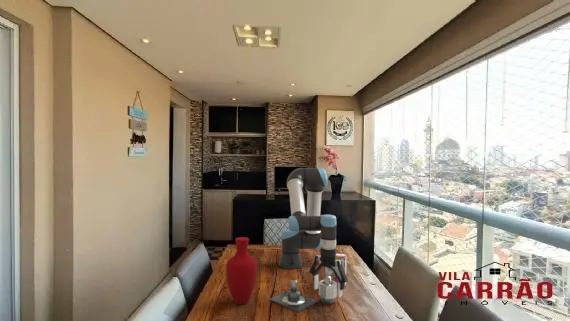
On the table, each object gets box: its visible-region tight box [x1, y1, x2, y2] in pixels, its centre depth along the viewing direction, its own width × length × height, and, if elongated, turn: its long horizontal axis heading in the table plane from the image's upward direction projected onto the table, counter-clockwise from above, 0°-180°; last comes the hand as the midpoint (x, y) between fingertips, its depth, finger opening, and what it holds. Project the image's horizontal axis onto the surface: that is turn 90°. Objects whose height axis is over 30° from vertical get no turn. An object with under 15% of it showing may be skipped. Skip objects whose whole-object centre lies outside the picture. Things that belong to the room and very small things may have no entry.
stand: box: [320, 275, 335, 305], centre depth 154 cm, size 6×6×12 cm
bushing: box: [318, 279, 338, 299], centre depth 154 cm, size 8×8×6 cm
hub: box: [269, 278, 318, 313], centre depth 153 cm, size 18×14×10 cm
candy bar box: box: [324, 253, 347, 288], centre depth 175 cm, size 11×5×16 cm, turn 71°
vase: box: [225, 236, 258, 305], centre depth 153 cm, size 15×15×30 cm
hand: (327, 292), depth 154 cm, fingers open, 13 cm apart
